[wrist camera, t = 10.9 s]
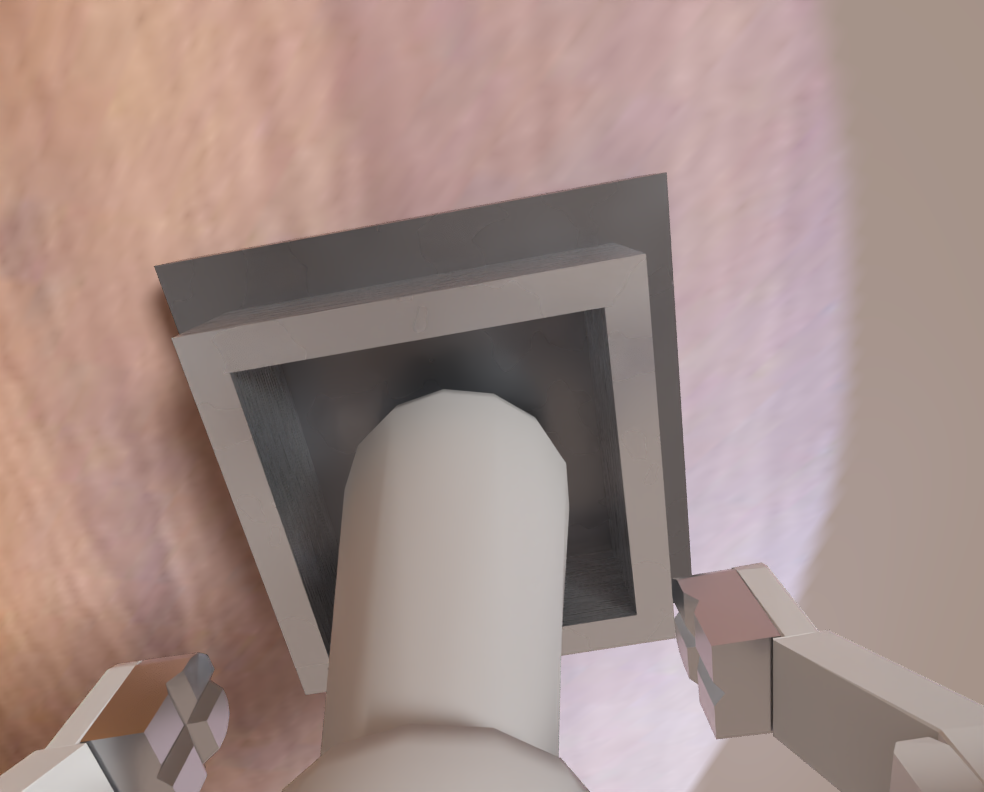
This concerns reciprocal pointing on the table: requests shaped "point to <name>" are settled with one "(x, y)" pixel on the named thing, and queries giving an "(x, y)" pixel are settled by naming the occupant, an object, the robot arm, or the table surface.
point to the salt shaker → (448, 606)
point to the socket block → (451, 385)
